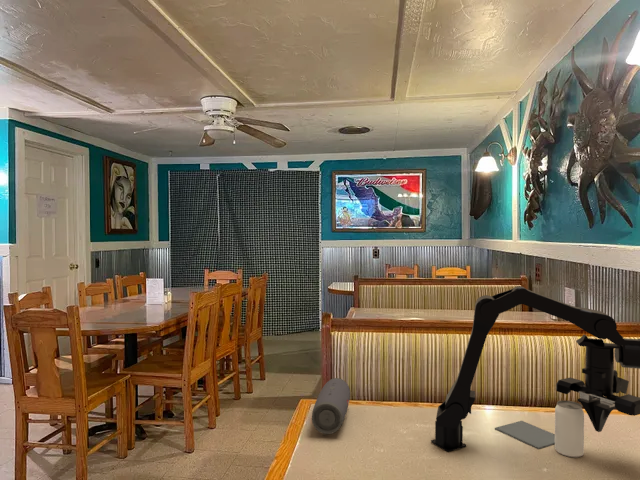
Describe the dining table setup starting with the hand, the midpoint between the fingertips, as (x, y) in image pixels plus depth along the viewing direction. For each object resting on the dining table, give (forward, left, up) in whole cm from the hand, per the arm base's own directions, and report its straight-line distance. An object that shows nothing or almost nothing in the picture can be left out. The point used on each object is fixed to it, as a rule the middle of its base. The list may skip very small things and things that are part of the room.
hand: (598, 431), depth 112 cm
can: (0, +7, -8) cm, 11 cm away
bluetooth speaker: (-43, +51, -8) cm, 68 cm away
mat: (0, +19, -8) cm, 21 cm away
